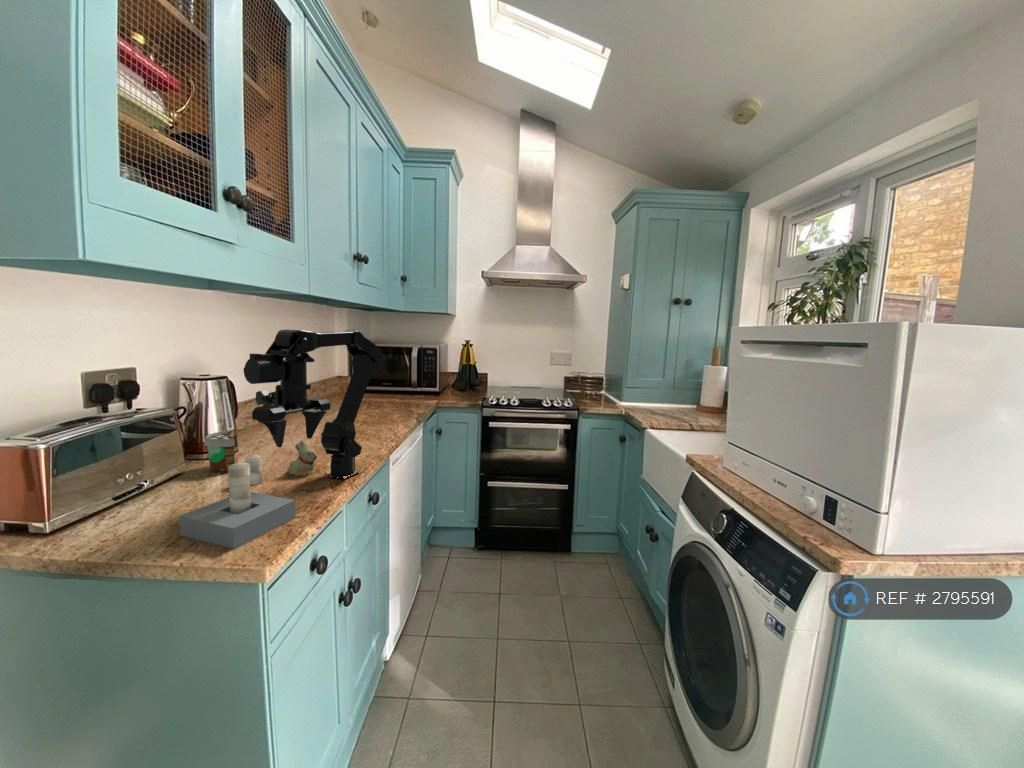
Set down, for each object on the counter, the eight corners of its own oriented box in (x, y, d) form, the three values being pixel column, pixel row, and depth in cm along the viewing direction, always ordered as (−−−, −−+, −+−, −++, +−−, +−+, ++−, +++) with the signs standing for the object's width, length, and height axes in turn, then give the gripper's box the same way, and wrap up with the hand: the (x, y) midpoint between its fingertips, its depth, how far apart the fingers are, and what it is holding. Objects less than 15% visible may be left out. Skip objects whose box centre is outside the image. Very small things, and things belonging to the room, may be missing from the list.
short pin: (254, 479, 107) (254, 454, 106) (265, 481, 106) (264, 456, 105) (242, 484, 104) (241, 458, 103) (253, 486, 103) (252, 460, 102)
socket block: (246, 507, 90) (246, 490, 90) (295, 517, 86) (295, 500, 86) (180, 535, 77) (179, 516, 76) (234, 548, 73) (233, 528, 72)
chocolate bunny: (300, 478, 110) (299, 443, 109) (284, 472, 114) (284, 438, 113) (318, 473, 114) (318, 439, 113) (303, 467, 118) (302, 435, 117)
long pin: (235, 522, 83) (232, 463, 81) (254, 521, 84) (252, 462, 82) (227, 530, 79) (224, 468, 78) (247, 529, 80) (245, 467, 79)
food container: (202, 466, 116) (200, 433, 115) (227, 462, 120) (226, 430, 119) (208, 477, 107) (207, 442, 106) (235, 473, 112) (234, 438, 111)
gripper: (297, 376, 108) (298, 431, 110) (232, 381, 90) (234, 448, 92) (331, 378, 105) (332, 435, 106) (270, 385, 87) (272, 453, 89)
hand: (294, 442), depth 98 cm, fingers open, 9 cm apart
